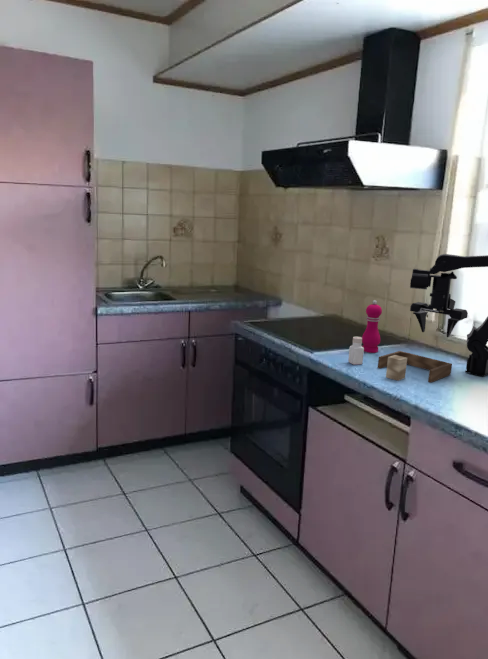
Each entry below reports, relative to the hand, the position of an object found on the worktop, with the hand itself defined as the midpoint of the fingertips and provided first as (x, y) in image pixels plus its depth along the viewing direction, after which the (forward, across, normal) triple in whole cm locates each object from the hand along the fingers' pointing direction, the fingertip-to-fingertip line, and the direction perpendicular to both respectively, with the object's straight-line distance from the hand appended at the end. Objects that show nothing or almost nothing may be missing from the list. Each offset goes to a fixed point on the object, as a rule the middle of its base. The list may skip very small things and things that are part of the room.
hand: (435, 334), depth 196 cm
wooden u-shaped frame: (+12, +1, +10) cm, 16 cm away
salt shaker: (+12, +20, +19) cm, 30 cm away
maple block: (+12, +2, +22) cm, 25 cm away
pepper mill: (+12, +26, -1) cm, 29 cm away
